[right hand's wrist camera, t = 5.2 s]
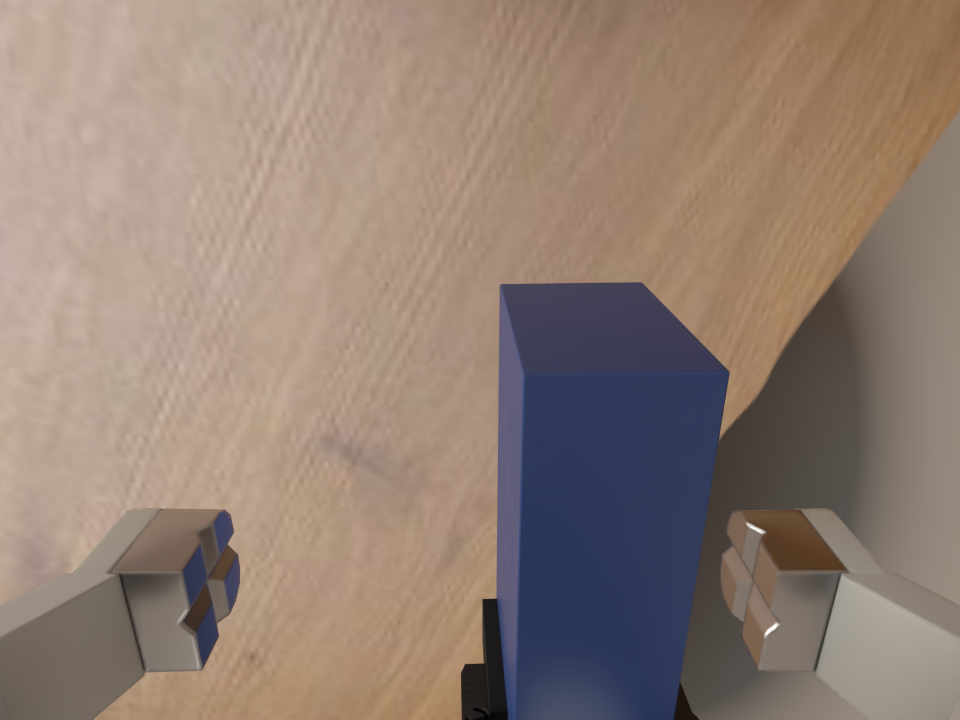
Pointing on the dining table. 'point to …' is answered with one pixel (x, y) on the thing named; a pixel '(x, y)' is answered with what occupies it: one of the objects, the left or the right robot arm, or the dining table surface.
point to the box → (599, 497)
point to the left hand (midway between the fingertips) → (554, 617)
